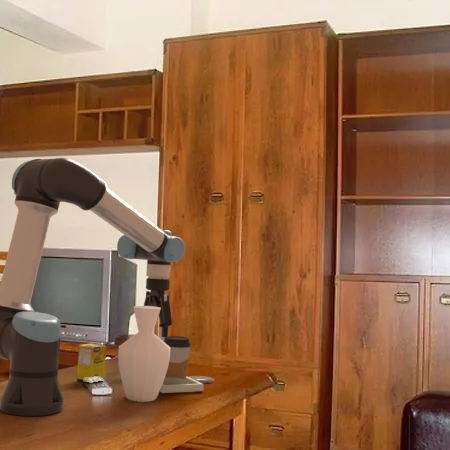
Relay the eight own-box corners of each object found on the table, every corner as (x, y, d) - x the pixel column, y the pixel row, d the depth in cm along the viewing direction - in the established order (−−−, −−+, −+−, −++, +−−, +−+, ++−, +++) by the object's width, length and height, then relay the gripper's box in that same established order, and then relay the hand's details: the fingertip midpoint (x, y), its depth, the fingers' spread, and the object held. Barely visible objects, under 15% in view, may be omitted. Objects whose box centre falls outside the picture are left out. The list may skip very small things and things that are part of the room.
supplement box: (104, 381, 211) (106, 345, 211) (90, 384, 206) (93, 347, 206) (90, 378, 214) (92, 342, 214) (76, 381, 209) (78, 344, 209)
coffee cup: (183, 392, 202) (186, 340, 202) (156, 389, 203) (159, 338, 204) (191, 387, 210) (194, 337, 210) (164, 384, 211) (167, 335, 212)
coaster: (193, 384, 214) (193, 382, 214) (181, 378, 222) (181, 376, 222) (219, 382, 219) (219, 380, 219) (206, 377, 227) (206, 375, 227)
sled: (162, 393, 198) (164, 350, 198) (132, 376, 220) (134, 338, 220) (203, 390, 204) (205, 349, 204) (170, 374, 226) (172, 337, 226)
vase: (155, 406, 182) (161, 311, 183) (106, 400, 186) (112, 306, 187) (175, 396, 196) (180, 307, 197) (129, 390, 200) (134, 303, 201)
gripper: (184, 280, 214) (181, 349, 213) (154, 275, 236) (151, 337, 235) (162, 280, 210) (158, 350, 210) (133, 274, 232) (130, 338, 232)
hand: (154, 344), depth 223 cm, fingers open, 13 cm apart
